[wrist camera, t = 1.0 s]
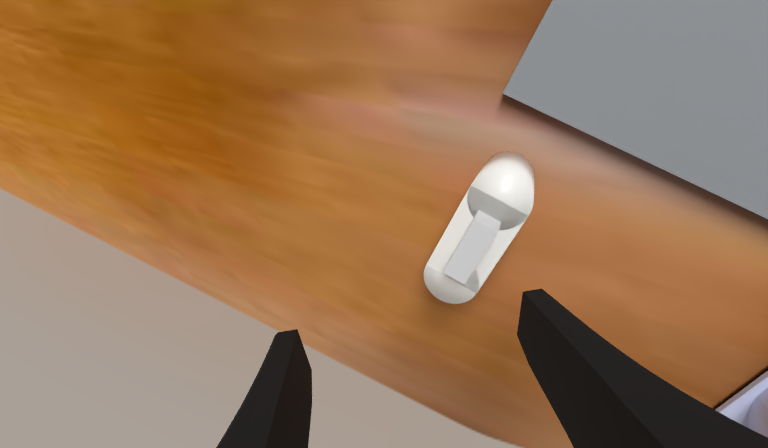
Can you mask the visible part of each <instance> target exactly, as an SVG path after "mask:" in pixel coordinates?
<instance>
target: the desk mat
mask: <svg viewBox="0 0 768 448" xmlns="http://www.w3.org/2000/svg"><path fill="white" fill-rule="evenodd" d="M503 94H505V95H507V96H509V97H511V98H513V99H515V100H517V101H520V102H522V103H524V104H526V105H528V106H530V107H532V108H534V109H536V110H538V111H541V112H543V113H545V114H547V115H549V116H551V117H553V118H555V119H557V120H560V121H562V122H564V123H566V124H568V125H570V126H572V127H574V128H576V129H579V130H581V131H583V132H585V133H587V134H589V135H591V136H593V137H595V138H598V139H600V140H602V141H604V142H606V143H608V144H610V145H612V146H614V147H617V148H619V149H621V150H623V151H625V152H627V153H629V154H631V155H633V156H636V157H638V158H640V159H642V160H644V161H646V162H648V163H650V164H652V165H654V166H657V167H659V168H661V169H663V170H665V171H667V172H669V173H671V174H673V175H676V176H678V177H680V178H682V179H684V180H686V181H688V182H690V183H692V184H695V185H697V186H699V187H701V188H703V189H705V190H707V191H709V192H711V193H714V194H716V195H718V196H720V197H722V198H724V199H726V200H728V201H730V202H733V203H735V204H737V205H739V206H741V207H743V208H745V209H747V210H749V211H752V212H754V213H756V214H758V215H760V216H762V217H764V218H766V219H768V0H552V2H551V4H550V6H549V8H548V9H547V11H546V13H545V15H544V17H543V19H542V21H541V23H540V24H539V26H538V28H537V30H536V32H535V34H534V36H533V37H532V39H531V41H530V43H529V45H528V47H527V49H526V51H525V52H524V54H523V56H522V58H521V60H520V62H519V64H518V66H517V67H516V69H515V71H514V73H513V75H512V77H511V79H510V80H509V82H508V84H507V86H506V88H505V90H504V92H503Z"/></svg>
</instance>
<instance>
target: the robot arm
mask: <svg viewBox="0 0 768 448" xmlns="http://www.w3.org/2000/svg"><path fill="white" fill-rule="evenodd" d="M517 336H518V338H519V341H520V343H521V346H522V348H523V351H524V353H525V356H526V358H527V361H528V363H529V365H530V367H531V369H532V371H533V373H534V375H535V376H536V378H537V380H538V382H539V384H540V386H541V388H542V389H543V391H544V393H545V395H546V397H547V398H548V400H549V402H550V404H551V406H552V408H553V409H554V411H555V413H556V415H557V417H558V418H559V420H560V422H561V424H562V426H563V428H564V429H565V431H566V433H567V435H568V437H569V439H570V441H571V443H572V445H573V447H574V448H768V371H766V372H765V373H764V374H762V375H761V376H760V377H758V378H757V379H756V380H754V381H753V382H752V383H750V384H749V385H748V386H746V387H745V388H744V389H742V390H741V391H740V392H738V393H737V394H736V395H734V396H733V397H732V398H730V399H729V400H728V401H726V402H725V403H724V404H722V405H721V406H720V407H718V408H717V409H716V410H714V409H712V408H710V407H708V406H707V405H705V404H703V403H701V402H699V401H697V400H696V399H694V398H692V397H691V396H689V395H687V394H685V393H684V392H682V391H680V390H679V389H677V388H676V387H674V386H672V385H671V384H669V383H668V382H666V381H664V380H663V379H661V378H660V377H658V376H656V375H655V374H653V373H652V372H650V371H649V370H647V369H646V368H644V367H643V366H641V365H640V364H638V363H637V362H635V361H634V360H633V359H631V358H630V357H628V356H627V355H625V354H624V353H623V352H621V351H620V350H618V349H617V348H616V347H614V346H613V345H612V344H610V343H609V342H608V341H606V340H605V339H604V338H602V337H601V336H600V335H599V334H597V333H596V332H595V331H593V330H592V329H591V328H589V327H588V326H587V325H586V324H584V323H583V322H582V321H581V320H579V319H578V318H577V317H576V316H574V315H573V314H572V313H571V312H570V311H568V310H567V309H566V308H565V307H563V306H562V305H561V304H560V303H559V302H557V301H556V300H555V299H554V298H553V297H551V296H550V295H549V294H548V293H546V292H545V291H544V290H543V289H537V290H531V291H525V292H523V296H522V303H521V310H520V317H519V325H518V332H517ZM311 373H312V372H311V367H310V364H309V362H308V358H307V356H306V353H305V350H304V347H303V344H302V341H301V339H300V336H299V333H298V330H297V329H296V330H290V331H284V332H278V333H277V334H276V335H275V337H274V339H273V342H272V344H271V346H270V349H269V351H268V353H267V355H266V358H265V360H264V362H263V364H262V366H261V368H260V370H259V372H258V374H257V376H256V378H255V380H254V382H253V384H252V386H251V388H250V390H249V392H248V394H247V396H246V398H245V400H244V401H243V403H242V405H241V407H240V409H239V410H238V412H237V414H236V416H235V417H234V419H233V421H232V422H231V424H230V426H229V428H228V429H227V431H226V433H225V435H224V437H223V438H222V439H221V441H220V443H219V444H218V446H217V447H216V448H308V439H309V430H310V419H311V407H312V374H311Z"/></svg>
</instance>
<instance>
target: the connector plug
mask: <svg viewBox="0 0 768 448" xmlns="http://www.w3.org/2000/svg"><path fill="white" fill-rule="evenodd" d="M534 180H535V174H534V169H533V166H532V165H531V163H530V162H529V160H528V159H527V158H525V157H524V156H523V155H521V154H518V153H515V152H502V153H498V154H496V155H494V156H493V157H491V158H490V159H489V160H488V161H487V162H486V163H485V165H484V166H483V168H482V169H481V171H480V172H479V174H478V175H477V177H476V178H475V180H474V181H473V183H472V184H471V186H470V188H469V189H468V191H467V193H466V195H465V197H464V198H463V200H462V202H461V204H460V206H459V207H458V209H457V211H456V213H455V214H454V216H453V218H452V220H451V222H450V223H449V225H448V227H447V229H446V231H445V232H444V234H443V236H442V238H441V239H440V241H439V243H438V245H437V247H436V248H435V250H434V252H433V254H432V256H431V257H430V259H429V261H428V263H427V264H426V267H425V269H424V281H425V284H426V286H427V288H428V290H429V291H430V292H431V293H432V294H433V295H434V296H435V297H436V298H438V299H439V300H441V301H443V302H446V303H450V304H460V303H464V302H467V301H469V300H471V299H472V298H473V297H474V296H475V295H476V293H477V292H478V291H479V289H480V288H481V286H482V285H483V283H484V282H485V280H486V279H487V277H488V276H489V274H490V273H491V271H492V270H493V268H494V267H495V265H496V264H497V262H498V261H499V259H500V258H501V256H502V255H503V253H504V252H505V250H506V249H507V247H508V246H509V244H510V243H511V241H512V240H513V238H514V237H515V235H516V234H517V232H518V231H519V229H520V228H521V227H522V225H523V224H524V222H525V221H526V219H527V218H528V216H529V214H530V213H531V210H532V207H533V202H534Z"/></svg>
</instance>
